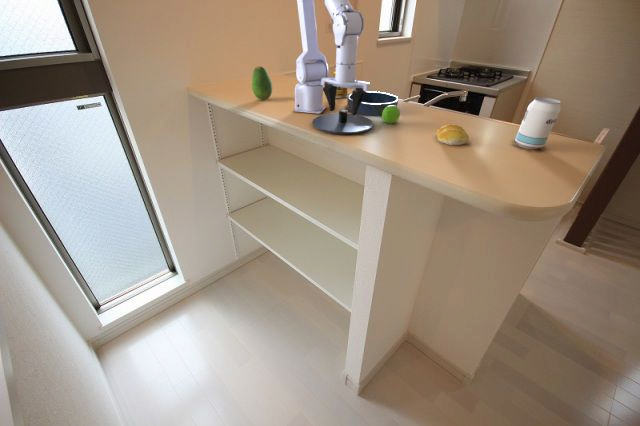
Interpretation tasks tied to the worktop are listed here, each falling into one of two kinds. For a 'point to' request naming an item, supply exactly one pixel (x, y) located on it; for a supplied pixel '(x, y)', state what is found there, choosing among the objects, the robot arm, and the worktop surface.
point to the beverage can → (538, 123)
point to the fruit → (261, 83)
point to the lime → (391, 114)
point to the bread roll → (452, 135)
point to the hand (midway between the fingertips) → (343, 112)
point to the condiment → (340, 89)
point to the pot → (373, 103)
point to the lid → (342, 123)
